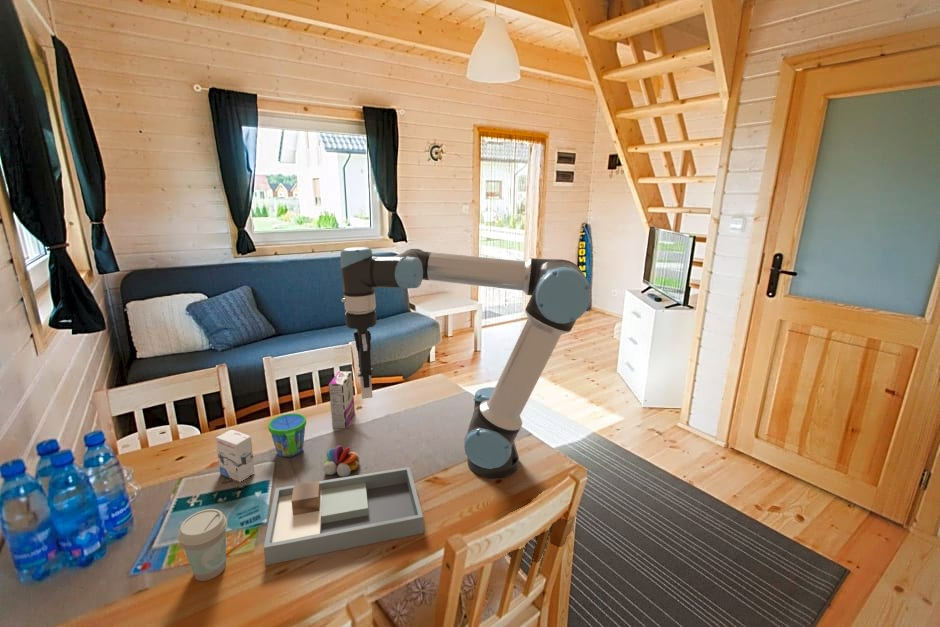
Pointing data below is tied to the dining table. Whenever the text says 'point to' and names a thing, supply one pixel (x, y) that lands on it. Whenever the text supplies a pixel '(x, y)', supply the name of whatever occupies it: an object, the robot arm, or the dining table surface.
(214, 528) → the coffee cup
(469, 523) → the dining table surface
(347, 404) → the candy bar box
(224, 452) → the ink box
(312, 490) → the walnut block
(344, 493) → the box
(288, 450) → the snack cup
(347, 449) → the rainbow wheeled toy
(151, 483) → the dining table surface
